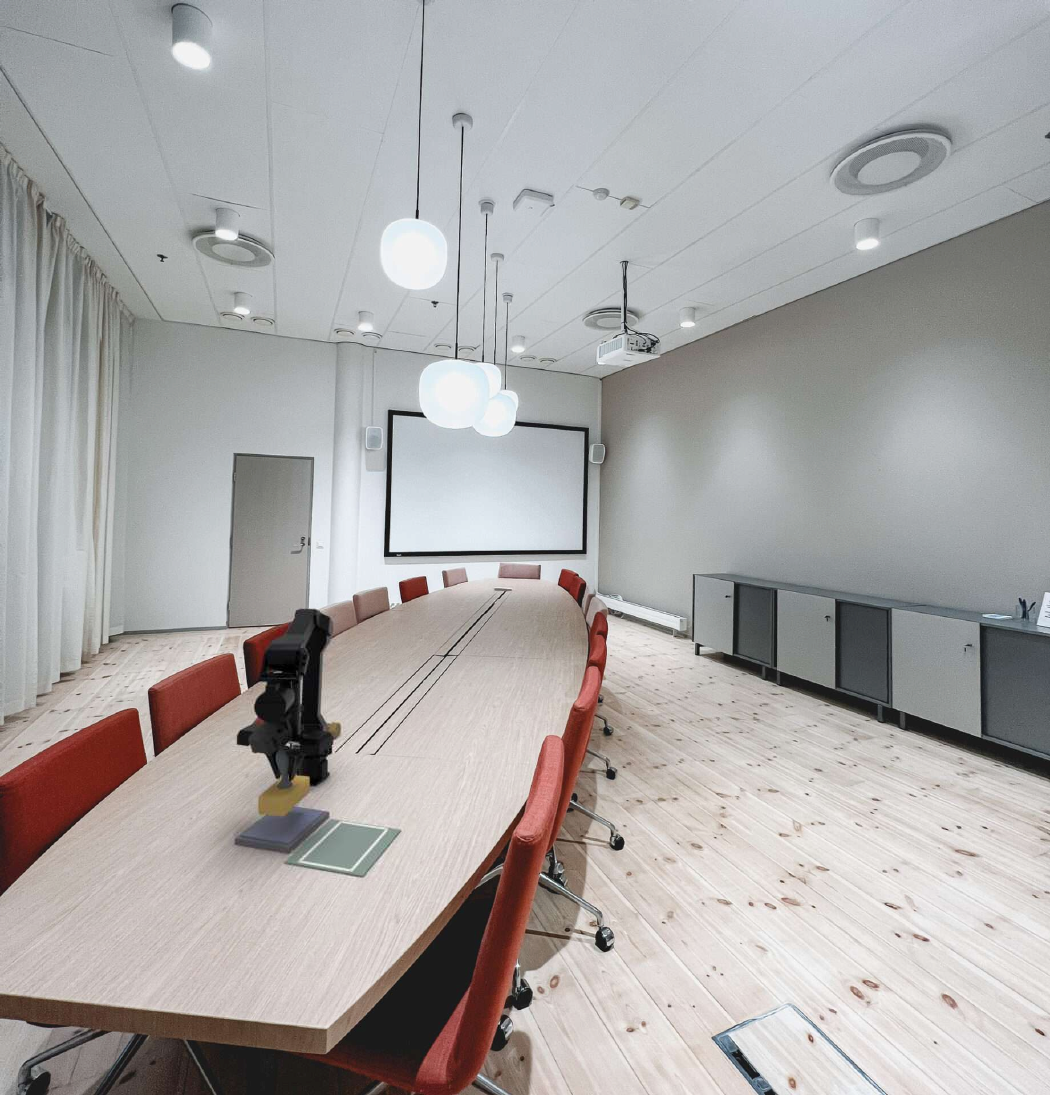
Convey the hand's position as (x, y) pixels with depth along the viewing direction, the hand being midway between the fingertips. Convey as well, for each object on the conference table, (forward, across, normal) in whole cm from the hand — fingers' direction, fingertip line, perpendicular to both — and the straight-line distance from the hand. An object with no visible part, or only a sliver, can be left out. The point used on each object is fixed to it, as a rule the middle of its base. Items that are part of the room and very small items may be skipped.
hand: (284, 779), depth 118 cm
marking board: (+10, +15, -2) cm, 19 cm away
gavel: (+12, -20, +39) cm, 45 cm away
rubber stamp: (+5, 0, 0) cm, 5 cm away
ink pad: (+11, 0, 0) cm, 11 cm away
